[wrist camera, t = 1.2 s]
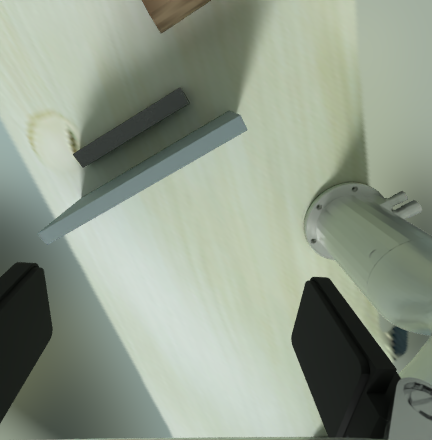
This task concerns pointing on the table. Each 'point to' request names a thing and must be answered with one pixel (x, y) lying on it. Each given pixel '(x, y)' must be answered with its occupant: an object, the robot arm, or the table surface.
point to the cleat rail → (132, 127)
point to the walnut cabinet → (171, 11)
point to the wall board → (146, 174)
